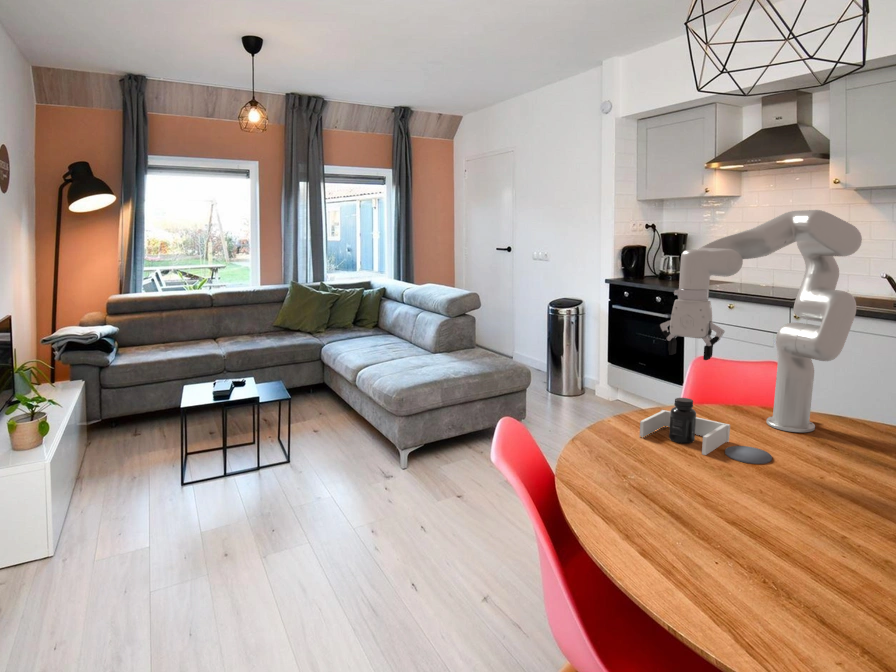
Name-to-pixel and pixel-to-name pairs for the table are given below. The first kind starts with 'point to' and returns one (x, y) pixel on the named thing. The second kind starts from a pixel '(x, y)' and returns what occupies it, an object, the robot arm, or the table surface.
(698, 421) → the white u-shaped bracket
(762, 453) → the mat
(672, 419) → the supplement bottle
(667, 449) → the table surface
